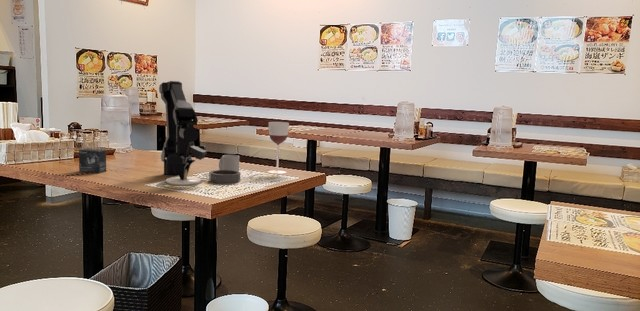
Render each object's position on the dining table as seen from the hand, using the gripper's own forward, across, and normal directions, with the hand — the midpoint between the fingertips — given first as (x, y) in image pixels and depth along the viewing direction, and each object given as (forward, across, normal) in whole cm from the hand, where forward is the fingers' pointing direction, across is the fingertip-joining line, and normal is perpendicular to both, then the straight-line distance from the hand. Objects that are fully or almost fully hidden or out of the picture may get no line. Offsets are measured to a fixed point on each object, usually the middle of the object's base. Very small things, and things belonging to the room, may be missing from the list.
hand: (183, 179), depth 191 cm
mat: (+2, 0, 0) cm, 2 cm away
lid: (+1, 0, 0) cm, 1 cm away
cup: (+2, +22, -11) cm, 25 cm away
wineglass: (+2, +40, -29) cm, 49 cm away
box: (+2, +12, +45) cm, 47 cm away
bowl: (+2, +8, -14) cm, 16 cm away
